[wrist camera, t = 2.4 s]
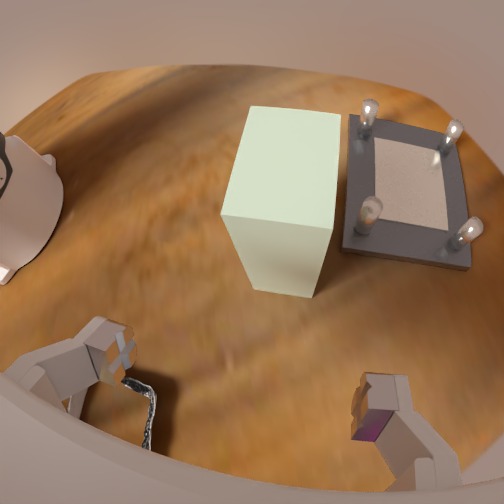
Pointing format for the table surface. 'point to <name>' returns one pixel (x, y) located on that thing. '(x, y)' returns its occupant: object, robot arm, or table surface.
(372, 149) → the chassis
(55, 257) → the table surface
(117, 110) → the table surface
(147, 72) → the table surface
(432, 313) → the table surface
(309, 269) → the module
